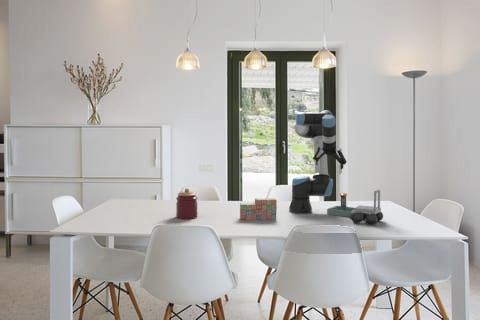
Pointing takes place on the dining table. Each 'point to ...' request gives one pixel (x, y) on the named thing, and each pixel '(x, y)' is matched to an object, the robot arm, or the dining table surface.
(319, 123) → the robot arm
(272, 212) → the stack of blocks
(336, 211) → the tray
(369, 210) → the trolley
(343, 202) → the stop pin
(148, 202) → the dining table surface
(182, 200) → the canister
